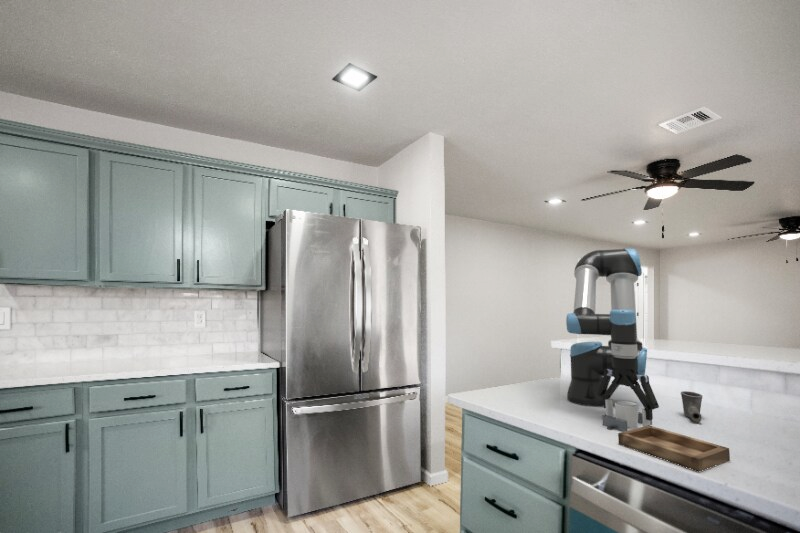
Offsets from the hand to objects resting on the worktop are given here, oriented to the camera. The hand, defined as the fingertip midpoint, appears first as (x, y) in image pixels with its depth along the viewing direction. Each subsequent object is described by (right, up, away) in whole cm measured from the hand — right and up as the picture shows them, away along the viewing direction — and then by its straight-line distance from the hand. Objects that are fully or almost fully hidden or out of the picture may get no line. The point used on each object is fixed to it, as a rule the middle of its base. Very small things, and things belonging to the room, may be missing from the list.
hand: (627, 424), depth 126 cm
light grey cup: (0, 0, 0) cm, 0 cm away
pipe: (+27, -1, +6) cm, 27 cm away
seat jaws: (0, 0, 0) cm, 0 cm away
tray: (-1, +2, -22) cm, 22 cm away
